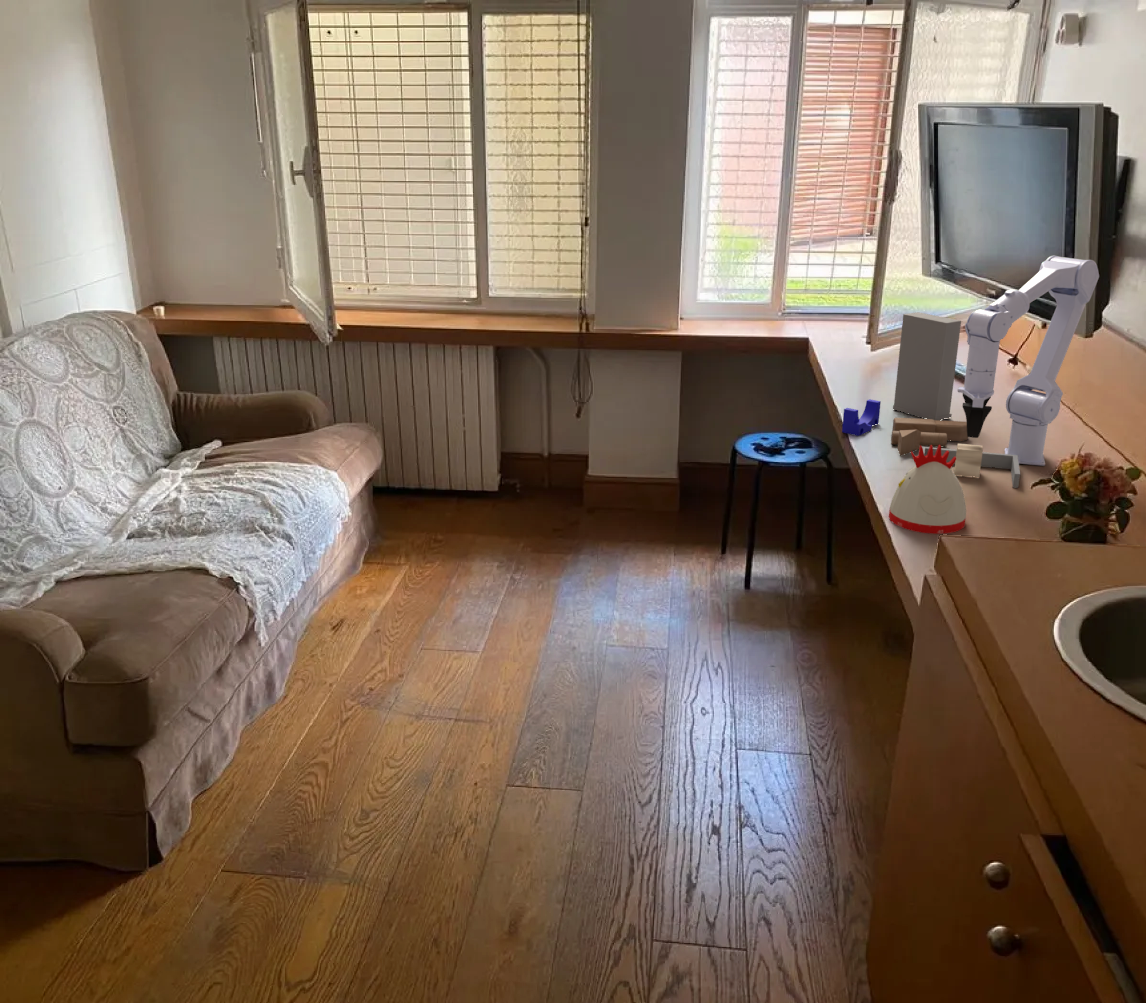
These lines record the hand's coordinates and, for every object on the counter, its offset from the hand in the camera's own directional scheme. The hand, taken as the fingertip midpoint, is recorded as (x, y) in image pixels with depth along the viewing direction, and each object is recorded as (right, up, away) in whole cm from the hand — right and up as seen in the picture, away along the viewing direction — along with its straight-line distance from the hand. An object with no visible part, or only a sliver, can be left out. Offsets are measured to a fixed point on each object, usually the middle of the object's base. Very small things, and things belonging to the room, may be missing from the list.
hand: (972, 431), depth 215 cm
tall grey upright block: (+5, +7, +46) cm, 47 cm away
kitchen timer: (-17, -18, -20) cm, 32 cm away
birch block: (0, -9, +4) cm, 10 cm away
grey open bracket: (0, -9, +4) cm, 9 cm away
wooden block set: (-1, -2, +22) cm, 22 cm away
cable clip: (-13, +3, +35) cm, 38 cm away
